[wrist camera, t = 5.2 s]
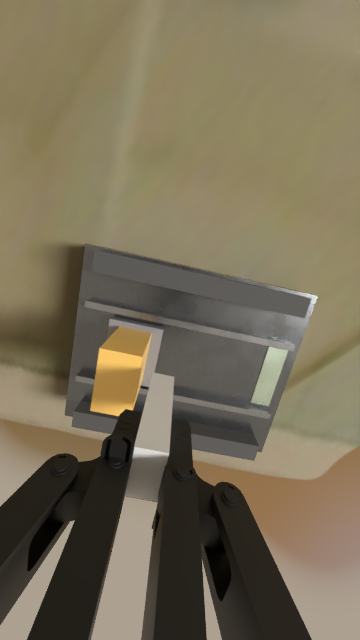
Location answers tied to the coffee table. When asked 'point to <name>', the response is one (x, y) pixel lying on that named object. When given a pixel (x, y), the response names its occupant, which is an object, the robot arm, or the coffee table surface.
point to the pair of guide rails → (205, 286)
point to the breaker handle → (125, 364)
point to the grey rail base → (192, 347)
